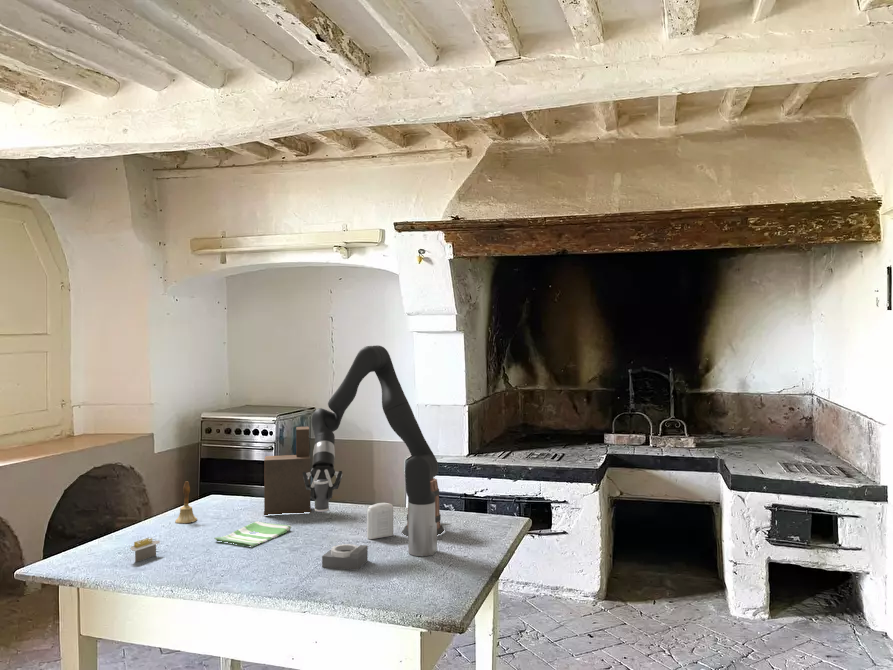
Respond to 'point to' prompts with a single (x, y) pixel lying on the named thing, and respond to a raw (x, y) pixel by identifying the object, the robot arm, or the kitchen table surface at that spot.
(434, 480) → the tankard
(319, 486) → the lens
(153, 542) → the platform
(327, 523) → the kitchen table surface
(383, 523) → the photo printer
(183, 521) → the hand bell
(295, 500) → the brown box with post
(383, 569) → the kitchen table surface
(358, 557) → the camera body
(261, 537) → the dish towel
